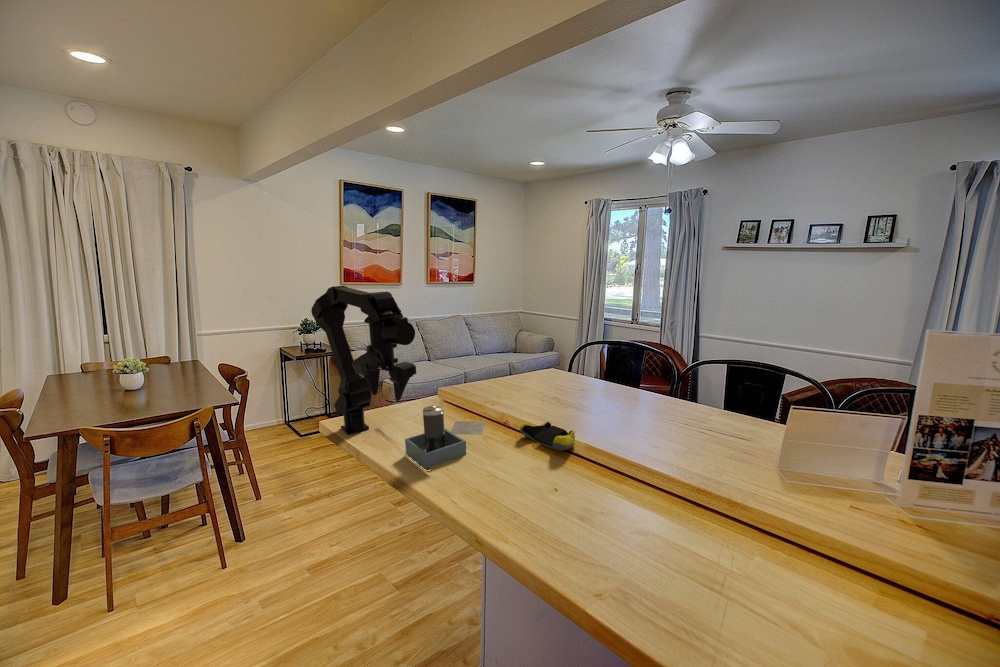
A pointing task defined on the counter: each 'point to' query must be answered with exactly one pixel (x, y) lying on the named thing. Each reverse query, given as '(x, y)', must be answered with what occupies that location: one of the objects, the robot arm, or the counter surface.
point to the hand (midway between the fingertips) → (386, 397)
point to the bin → (437, 456)
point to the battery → (433, 428)
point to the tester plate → (468, 427)
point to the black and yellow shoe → (549, 435)
